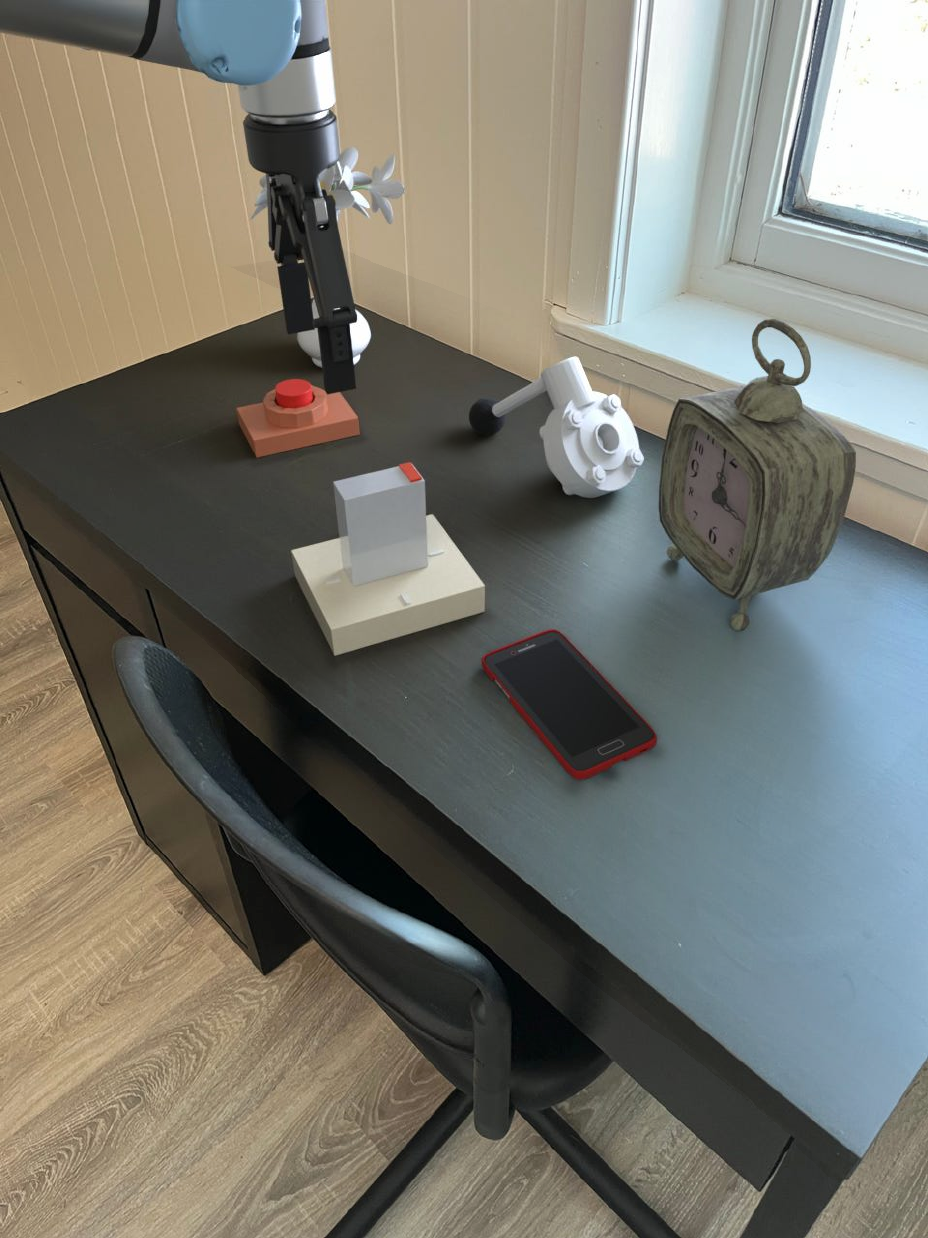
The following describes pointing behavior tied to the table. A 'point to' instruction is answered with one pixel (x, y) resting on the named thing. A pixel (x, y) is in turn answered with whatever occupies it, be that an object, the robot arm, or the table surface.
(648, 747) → the cell phone
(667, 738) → the table surface
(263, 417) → the button block
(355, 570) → the grey rectangular block
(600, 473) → the mechanical valve
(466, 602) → the cream rectangular base
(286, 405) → the button
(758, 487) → the tabletop clock
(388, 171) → the flower vase
